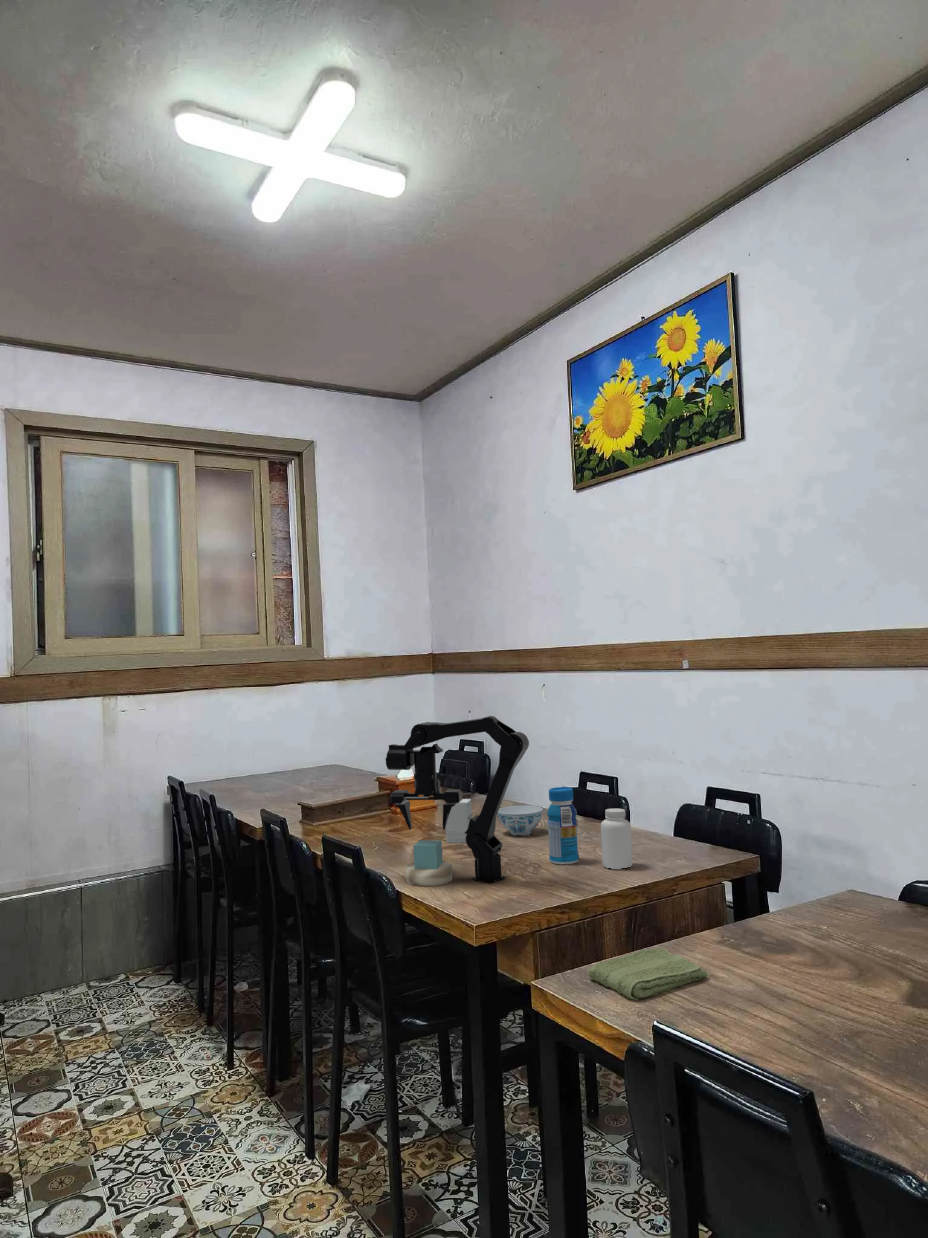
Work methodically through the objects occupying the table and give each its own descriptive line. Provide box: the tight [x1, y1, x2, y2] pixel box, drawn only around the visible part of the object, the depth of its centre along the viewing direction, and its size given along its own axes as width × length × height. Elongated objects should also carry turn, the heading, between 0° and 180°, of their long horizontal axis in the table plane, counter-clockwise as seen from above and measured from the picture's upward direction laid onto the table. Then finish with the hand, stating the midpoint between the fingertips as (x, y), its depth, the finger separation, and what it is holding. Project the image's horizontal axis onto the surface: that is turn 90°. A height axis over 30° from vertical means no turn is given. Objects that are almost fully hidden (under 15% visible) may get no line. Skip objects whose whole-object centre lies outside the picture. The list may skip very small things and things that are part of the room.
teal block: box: [413, 839, 443, 869], centre depth 211 cm, size 6×6×6 cm
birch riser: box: [405, 860, 453, 887], centre depth 211 cm, size 12×12×4 cm
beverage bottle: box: [546, 786, 580, 865], centre depth 225 cm, size 8×8×20 cm
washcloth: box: [587, 947, 709, 1001], centre depth 140 cm, size 13×18×3 cm
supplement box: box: [445, 798, 473, 844], centre depth 258 cm, size 7×7×13 cm
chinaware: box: [497, 805, 544, 836], centre depth 264 cm, size 15×15×8 cm
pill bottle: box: [600, 808, 633, 870], centre depth 217 cm, size 8×8×15 cm
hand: (427, 829), depth 215 cm, fingers open, 9 cm apart
